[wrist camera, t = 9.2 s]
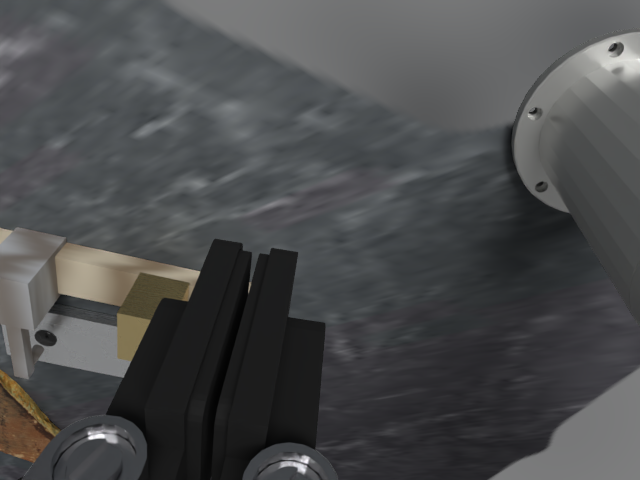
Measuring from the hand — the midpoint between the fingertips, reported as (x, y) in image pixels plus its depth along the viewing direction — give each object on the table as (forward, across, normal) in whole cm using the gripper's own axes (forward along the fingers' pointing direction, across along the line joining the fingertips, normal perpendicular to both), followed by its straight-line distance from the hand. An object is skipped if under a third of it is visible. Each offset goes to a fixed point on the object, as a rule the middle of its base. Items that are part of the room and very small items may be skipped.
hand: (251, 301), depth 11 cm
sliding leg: (+24, +10, +27) cm, 38 cm away
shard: (+27, +29, +47) cm, 61 cm away
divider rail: (+26, +13, +27) cm, 40 cm away
